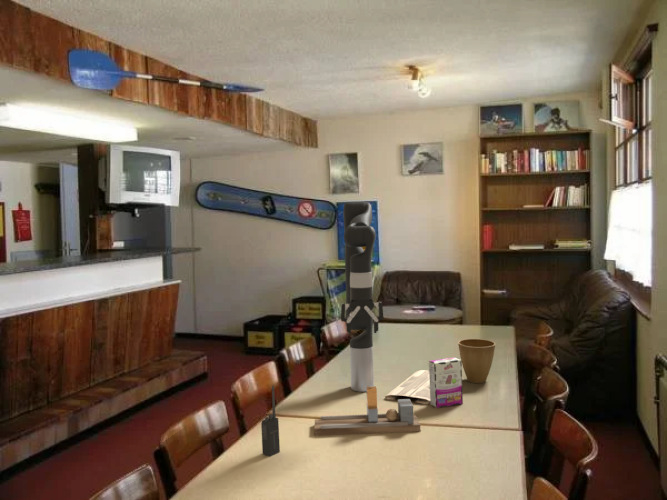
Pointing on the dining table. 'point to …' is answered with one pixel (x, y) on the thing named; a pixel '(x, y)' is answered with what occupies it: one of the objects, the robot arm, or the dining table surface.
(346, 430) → the base
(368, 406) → the sliding jaw
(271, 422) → the walkie-talkie
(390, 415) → the smooth beige ball
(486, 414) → the dining table surface
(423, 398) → the newspaper
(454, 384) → the candy bar box
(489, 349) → the plant pot
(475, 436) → the dining table surface
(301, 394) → the dining table surface
